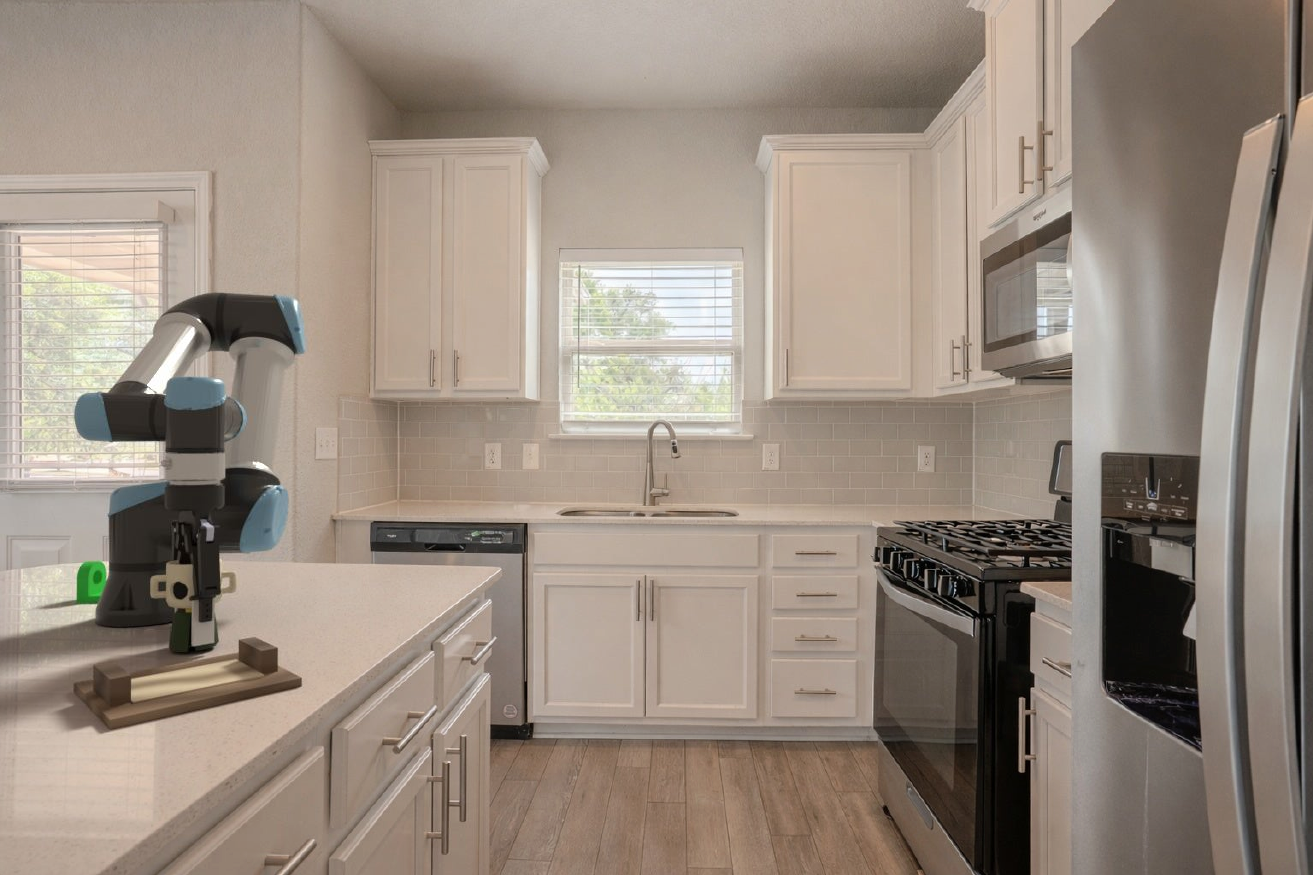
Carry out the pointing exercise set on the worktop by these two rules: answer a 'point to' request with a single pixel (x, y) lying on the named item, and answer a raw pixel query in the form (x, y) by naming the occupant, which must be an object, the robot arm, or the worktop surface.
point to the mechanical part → (90, 581)
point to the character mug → (185, 602)
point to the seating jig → (184, 684)
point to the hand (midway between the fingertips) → (194, 638)
